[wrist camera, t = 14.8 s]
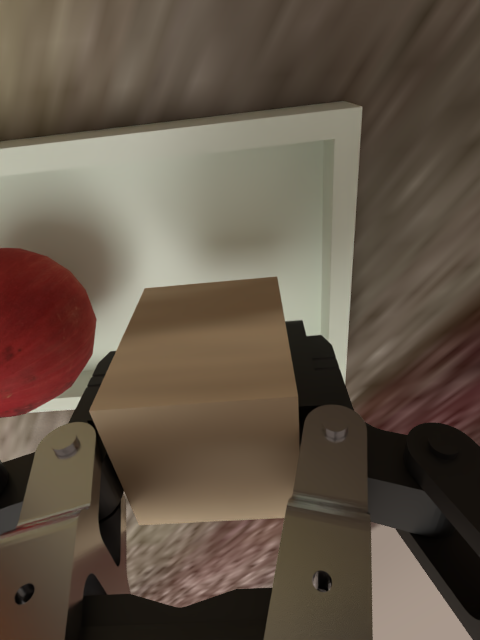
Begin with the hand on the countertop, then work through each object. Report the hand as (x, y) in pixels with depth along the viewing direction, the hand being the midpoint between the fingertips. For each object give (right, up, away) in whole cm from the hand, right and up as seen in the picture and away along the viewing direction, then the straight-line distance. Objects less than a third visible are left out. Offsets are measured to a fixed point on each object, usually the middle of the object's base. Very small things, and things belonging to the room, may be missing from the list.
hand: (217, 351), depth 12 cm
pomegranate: (-8, +3, +5) cm, 10 cm away
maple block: (0, 0, +1) cm, 1 cm away
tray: (-4, +3, +5) cm, 7 cm away
